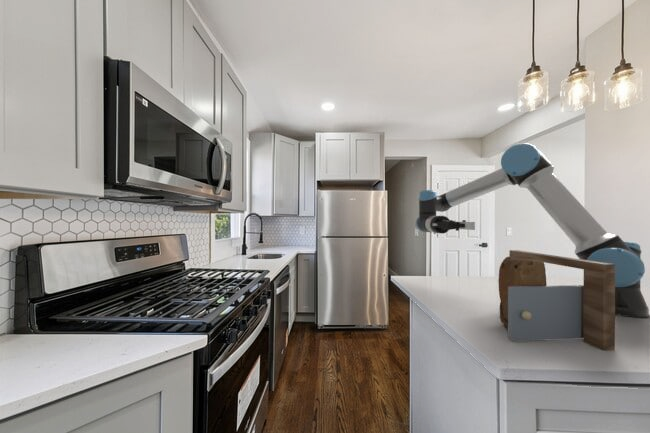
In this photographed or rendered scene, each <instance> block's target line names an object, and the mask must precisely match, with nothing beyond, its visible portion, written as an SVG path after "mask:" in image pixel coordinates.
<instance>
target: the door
mask: <svg viewBox="0 0 650 433" xmlns="http://www.w3.org/2000/svg"><path fill="white" fill-rule="evenodd" d="M583 306H584V284H582V285H581V284H580V285H579V284H578V285H576V284H575V285H571V284H570V285H547V286H511V287H508V329H507V339H508V340H509V341H511V342H517V341H518V342H520V341H521V342H523V341H541V340H545V341H546V340H547V341H548V340H567V339H568V340H571V339H572V340H573V339H583Z"/></svg>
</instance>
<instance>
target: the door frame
mask: <svg viewBox="0 0 650 433" xmlns="http://www.w3.org/2000/svg"><path fill="white" fill-rule="evenodd" d="M508 255H509V256H508V257H513V256H523V257H531V258H534V259H537V260H542V261H543V262H544V264H545V263H546V264H550V265H557V266H563V267H568V268H575V269H579V270H583V285H584V306H583V338H582V339H583V343H585V344H587V345H590V346H592V347H594V348H596V349H599V350H601V351H616V315H615V264H610V263H603V262H596V261H589V260H582V259H579V258H573V257H567V256H562V255H560V256H559V255H553V254H546V253H540V252H539V253H538V252H535V251H534V252H533V251H532V252H531V251H525V250H518V249H512V250H510V249H509V254H508Z"/></svg>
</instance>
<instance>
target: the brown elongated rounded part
mask: <svg viewBox="0 0 650 433" xmlns="http://www.w3.org/2000/svg"><path fill="white" fill-rule="evenodd" d="M498 271H499V272H498V294H499V295H498V296H499V300H500V302H499V320H500V322H501V324H502V325H503V326H504V327H505V328H506V329H507V330H508V287H511V286H548V284H547V272H546V265H545V262H543V261H542V260H537V259H534V258H531V257H523V256H513V257H509V256H506V257H505V258H504V259H503V260H502V261H501V263H500V266H499V270H498Z"/></svg>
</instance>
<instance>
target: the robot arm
mask: <svg viewBox="0 0 650 433" xmlns="http://www.w3.org/2000/svg"><path fill="white" fill-rule="evenodd" d="M500 165H501V167H500V168H499V169H497V170H494V171H492V172H490V173H488V174H485V175H484V176H481V177H479V178H476V179H474V180H471V181H470V182H467V183H465V184H463V185H460V186H458V187H456V188H454V189H451V190H449V191H447V192H445V193H442V194H440V195H437V191H436V190H434V189H426V190H425V189H424V190H423V189H422V190H421V191H419V194H418V195H419V198H418V213H419V214H418V217H417V218H416V220H415V227H416V229H418V230H419V231H420V232H424V233H433V235H436V234H446V233H447V232H449V230H455V231H457V232H458V231H460V230H468V231H469V230H470V231H475V230H476V222H475V221H466V219H465V220H462V221H456V220H452V219H450V218H449V217H447V216H445V215H437V212H441V213H442V212H447V211H449V210H450V209H452V207H455V206H458V205H461V204H463V203H465V202H468V201H470V200H475V198H476V199H477V198H479V197H481V196H484V195H486V194H488V193H489V194H490V193H491V192H493V191H496V190H499V189H502V188H504V187H507V186H508V185H511V186H515V185H517V186H518V187H519V188H523V189H527V190H528V191H529V192H530V193H531V194H532V196H533V197H534V198H535V199H536V201H537V202H539V204H540V205H541V206H542V208H543V209H544V210H545V211H546V212H547V214H548V215H549V216H550V217H551V218H552V220H554V222H555V223H556V224H557V225H558V227H559V228H560V229H561V230H562V231H563V232H564V234H565V235H566V236H567V237H568V238H569V240H570V241H571V242H572V243H573V245H574V246H575V249H574V254H575V255H576V256H577V259H582V260H589V261H596V262H603V263H610V264H615V316H616V315H617V316H621V317H622V316H623V317H631V318H647V317H649V316H650V310H649V306H648V304H647V302H646V301H645V298H644V295H643V292H642V291H641V280H642V278H643V277H644V275H645V271H646V268H645V263H644V261H643V259H641V255H642V250H641V245H640V244H639V243H637V242H632V241H631V242H630V241H624V240H623V239H622V238H621V237H620V236H619V235H618V234H614V233H610V232H607V231H606V230H605V229H604V227H603V226H602V225H601V224H600V223H599V222H598V221H597V220H596V219H595V218H594V217H593V215H592V214H591V213H590V212H589V211H588V209H586V208H585V206H584V205H582V204H581V202H580V201H579V200H578V199H577V198H576V196H574V195H573V194H572V192H570V190H569V189H568V188H567V187H566V186H565V185H564V184H563V183H562V182H561V181H560V179H559V178H558V177H557V176H556V175H555V174H554V169H555V166H554V164H552V163H551V161H549V159H547V157H546V155H545V154H544V153H543V152H542V151H540V150H539V148H538V147H537V146H536V145H533V144H531V143H526V142H525V143H524V142H520V143H516V144H513V145H511V146H510V147H508V148H507V149H506V150H505V151H504V152H503V154H502V156H501V158H500Z"/></svg>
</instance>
